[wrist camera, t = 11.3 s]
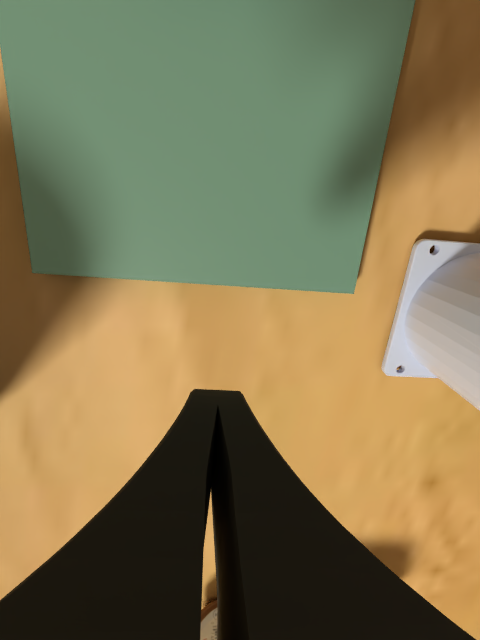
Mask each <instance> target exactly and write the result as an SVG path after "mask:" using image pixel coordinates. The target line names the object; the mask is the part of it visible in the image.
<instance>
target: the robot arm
mask: <svg viewBox="0 0 480 640" xmlns="http://www.w3.org/2000/svg"><path fill="white" fill-rule="evenodd" d="M433 245H434V246H435V250H434V252H433V253H431V254H430V248H431V247H432V246H433ZM398 366H401V368H400V369H399V370H396V369H397V367H398ZM382 371H383V372H384V373H385V374H386V375H388V376H402V377H426V378H439V379H440V380H442V381H443V382H444V383H445V384H447V385H448V386H449V387H450V388H452V389H453V390H454V391H456V392H457V393H458V394H459V395H461V396H462V397H463V398H464V399H466V400H467V401H468V402H469V403H471V404H472V405H473V406H474V407H476V408H477V409H478V410H480V243H469V242H457V241H445V240H433V239H420V240H418V241H417V242H416V243H415V244H414V246H413V248H412V252H411V256H410V259H409V263H408V267H407V271H406V275H405V279H404V282H403V286H402V290H401V294H400V298H399V302H398V305H397V309H396V313H395V317H394V321H393V325H392V328H391V332H390V336H389V340H388V344H387V348H386V351H385V355H384V359H383V363H382ZM210 492H211V495H212V512H213V529H214V546H215V562H216V579H217V640H476V639H474V638H473V637H472V636H470V635H469V634H468V633H467V632H465V631H464V630H463V629H461V628H460V627H459V626H457V625H456V624H455V623H453V622H452V621H451V620H450V619H448V618H447V617H446V616H445V615H443V614H442V613H441V612H440V611H439V610H437V609H436V608H435V607H434V606H433V605H431V604H430V603H429V602H428V601H427V600H425V599H424V598H423V597H422V596H421V595H419V594H418V593H417V592H416V591H414V590H413V589H412V588H411V587H410V586H408V585H407V584H406V583H405V582H404V581H402V580H401V579H400V578H399V577H398V576H397V575H396V574H394V573H393V572H392V571H391V570H390V569H389V568H388V567H386V566H385V565H384V564H383V563H382V562H381V561H380V560H379V559H378V558H377V557H376V556H374V555H373V554H372V553H371V552H370V551H369V550H368V549H367V548H366V547H365V546H364V545H363V544H362V543H360V542H359V541H358V540H357V539H356V538H355V537H354V536H353V535H352V534H351V533H350V532H349V531H348V530H346V529H345V528H344V527H343V526H342V525H341V524H340V523H339V522H338V521H337V520H336V519H335V517H334V516H333V515H332V514H331V513H330V512H329V511H328V510H327V509H326V508H325V507H324V506H323V505H322V504H321V503H320V502H319V501H318V499H317V498H316V497H315V496H314V495H313V494H312V493H311V492H310V491H309V489H308V488H307V487H306V486H305V485H304V484H303V482H302V481H301V480H300V479H299V478H298V476H297V475H296V474H295V473H294V471H293V470H292V469H291V468H290V466H289V465H288V464H287V462H286V461H285V460H284V459H283V457H282V456H281V455H280V453H279V452H278V451H277V449H276V448H275V446H274V445H273V443H272V442H271V441H270V439H269V438H268V436H267V435H266V433H265V432H264V430H263V429H262V427H261V426H260V424H259V423H258V421H257V419H256V418H255V416H254V414H253V413H252V411H251V409H250V407H249V405H248V404H247V402H246V400H245V398H244V396H243V394H242V393H241V392H240V391H226V390H204V389H194V390H193V391H192V392H190V395H189V397H188V399H187V401H186V403H185V405H184V407H183V409H182V410H181V412H180V414H179V415H178V417H177V419H176V420H175V422H174V423H173V425H172V426H171V428H170V429H169V430H168V432H167V433H166V435H165V436H164V438H163V439H162V440H161V442H160V443H159V444H158V446H157V447H156V448H155V449H154V451H153V452H152V453H151V455H150V456H149V457H148V458H147V460H146V461H145V462H144V463H143V465H142V466H141V467H140V468H139V469H138V471H137V472H136V473H135V474H134V475H133V476H132V478H131V479H130V480H129V481H128V482H127V483H126V484H125V485H124V487H123V488H122V489H121V490H120V491H119V492H118V493H117V494H116V495H115V496H114V497H113V498H112V499H111V500H110V501H109V502H108V504H107V505H106V506H105V507H104V508H103V509H102V510H101V511H99V512H98V513H97V514H96V515H95V516H94V517H93V518H92V519H91V520H90V521H89V522H88V523H87V524H86V525H85V526H84V527H83V528H82V529H81V530H80V531H79V532H78V533H77V534H76V535H75V536H74V537H73V538H72V539H71V540H69V541H68V542H67V543H66V544H65V545H64V546H63V547H62V548H61V549H60V550H59V551H57V552H56V553H55V554H54V555H53V556H52V557H51V558H50V559H48V560H47V561H46V562H45V563H44V564H43V565H41V566H40V567H39V568H38V569H37V570H35V571H34V572H33V573H32V574H31V575H30V576H28V577H27V578H26V579H25V580H24V581H23V582H21V583H20V584H19V585H18V586H17V587H15V588H14V589H13V590H12V591H11V592H10V593H8V594H7V595H6V596H5V597H4V598H3V599H1V600H0V640H200V629H201V601H202V572H203V547H204V539H205V531H206V524H207V516H208V508H209V500H210Z"/></svg>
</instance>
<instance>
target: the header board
mask: <svg viewBox="0 0 480 640" xmlns="http://www.w3.org/2000/svg"><path fill="white" fill-rule="evenodd" d="M414 4H415V0H0V48H1V55H2V62H3V69H4V76H5V83H6V90H7V97H8V104H9V111H10V119H11V126H12V133H13V140H14V147H15V154H16V161H17V168H18V175H19V182H20V189H21V196H22V203H23V211H24V218H25V225H26V232H27V239H28V246H29V253H30V260H31V267H32V273H40V274H55V275H71V276H86V277H101V278H117V279H132V280H148V281H163V282H179V283H194V284H210V285H225V286H241V287H256V288H272V289H287V290H303V291H318V292H333V293H349V294H354V290H355V286H356V281H357V276H358V271H359V266H360V262H361V257H362V252H363V247H364V243H365V238H366V233H367V228H368V224H369V219H370V214H371V209H372V204H373V200H374V195H375V190H376V185H377V181H378V176H379V171H380V166H381V162H382V157H383V152H384V147H385V142H386V138H387V133H388V128H389V123H390V119H391V114H392V109H393V104H394V99H395V95H396V90H397V85H398V80H399V76H400V71H401V66H402V61H403V57H404V52H405V47H406V42H407V37H408V33H409V28H410V23H411V18H412V14H413V9H414Z"/></svg>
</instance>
